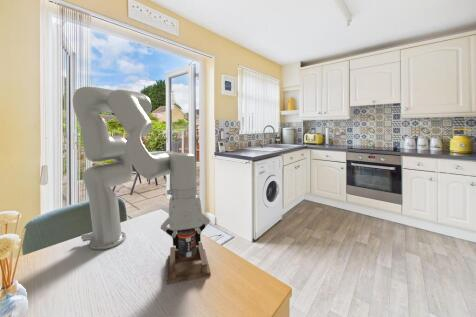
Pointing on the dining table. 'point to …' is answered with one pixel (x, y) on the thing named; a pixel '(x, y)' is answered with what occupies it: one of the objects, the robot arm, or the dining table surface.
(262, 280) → the dining table surface
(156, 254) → the dining table surface
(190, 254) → the supplement bottle
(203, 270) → the can holder
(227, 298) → the dining table surface
